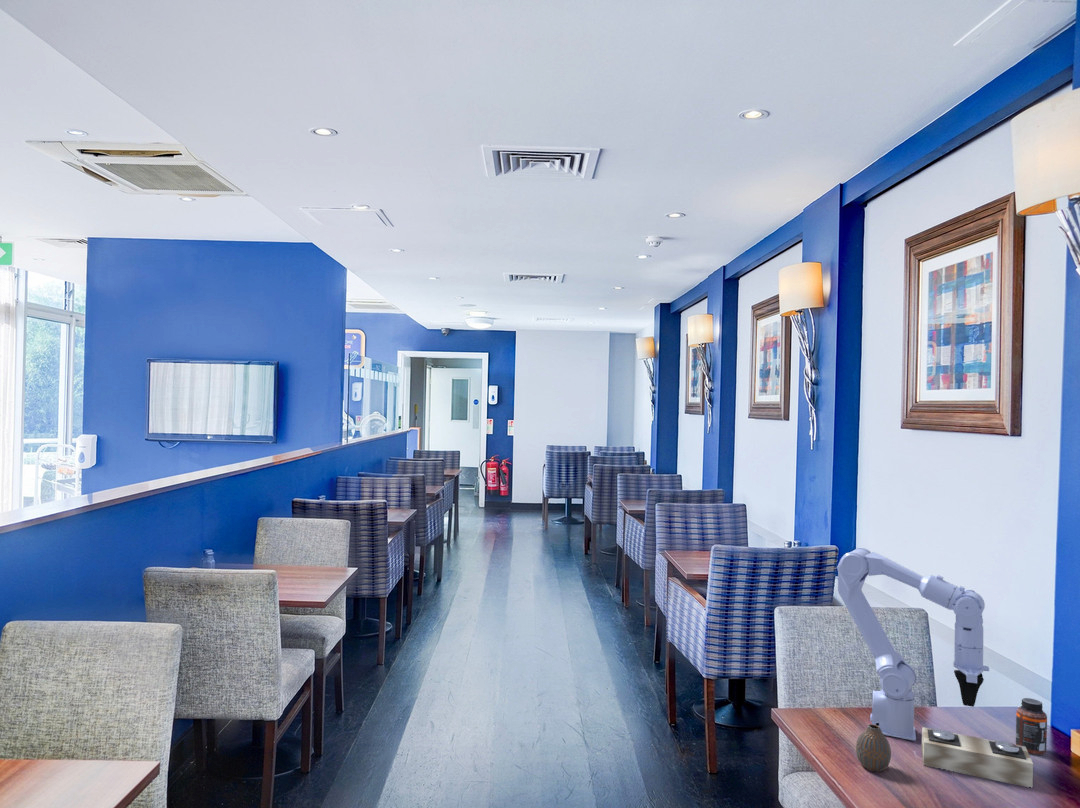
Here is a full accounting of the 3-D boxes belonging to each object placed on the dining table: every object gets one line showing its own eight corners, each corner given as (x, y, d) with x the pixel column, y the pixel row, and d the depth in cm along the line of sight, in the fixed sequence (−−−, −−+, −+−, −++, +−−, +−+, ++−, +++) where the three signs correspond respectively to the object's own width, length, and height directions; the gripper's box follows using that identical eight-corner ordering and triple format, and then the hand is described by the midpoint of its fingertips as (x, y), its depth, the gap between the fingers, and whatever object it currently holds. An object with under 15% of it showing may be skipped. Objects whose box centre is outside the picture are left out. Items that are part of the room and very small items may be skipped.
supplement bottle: (1051, 757, 167) (1052, 707, 167) (1022, 754, 168) (1023, 704, 168) (1039, 746, 173) (1040, 697, 173) (1010, 742, 174) (1012, 694, 174)
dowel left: (932, 756, 162) (933, 735, 162) (931, 749, 166) (932, 727, 166) (954, 761, 160) (955, 739, 161) (953, 753, 164) (953, 731, 164)
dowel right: (996, 769, 157) (997, 747, 157) (993, 761, 161) (994, 739, 161) (1019, 774, 155) (1020, 751, 155) (1016, 766, 159) (1017, 743, 159)
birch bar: (923, 765, 161) (924, 740, 161) (921, 748, 169) (922, 725, 169) (1032, 788, 152) (1033, 762, 152) (1024, 769, 161) (1025, 745, 161)
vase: (888, 763, 161) (889, 723, 161) (892, 777, 155) (893, 735, 155) (854, 757, 164) (855, 717, 164) (856, 771, 157) (858, 729, 157)
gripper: (993, 656, 161) (993, 719, 161) (985, 639, 174) (984, 697, 174) (956, 651, 164) (955, 713, 164) (950, 635, 177) (950, 692, 177)
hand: (968, 705), depth 169 cm, fingers closed
